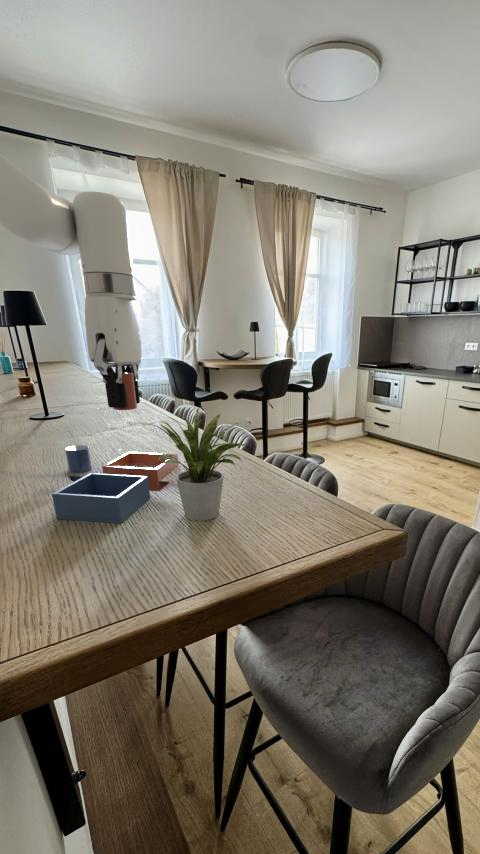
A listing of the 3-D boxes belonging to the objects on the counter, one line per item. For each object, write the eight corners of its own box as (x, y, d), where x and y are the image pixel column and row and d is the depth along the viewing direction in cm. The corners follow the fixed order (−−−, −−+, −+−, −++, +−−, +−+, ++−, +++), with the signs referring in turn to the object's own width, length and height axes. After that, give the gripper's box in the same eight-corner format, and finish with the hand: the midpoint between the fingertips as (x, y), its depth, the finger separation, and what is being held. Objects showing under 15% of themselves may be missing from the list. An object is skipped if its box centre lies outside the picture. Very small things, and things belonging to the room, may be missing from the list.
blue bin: (56, 518, 61) (51, 493, 60) (93, 495, 71) (90, 472, 69) (121, 523, 60) (118, 498, 59) (150, 498, 70) (148, 476, 68)
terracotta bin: (105, 487, 74) (101, 466, 73) (130, 470, 84) (128, 451, 82) (159, 490, 73) (157, 469, 72) (179, 473, 83) (177, 454, 81)
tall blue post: (65, 481, 77) (60, 450, 75) (78, 474, 81) (73, 444, 79) (85, 482, 77) (80, 451, 74) (97, 475, 80) (92, 445, 78)
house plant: (161, 546, 54) (149, 422, 48) (137, 509, 65) (125, 405, 59) (258, 524, 61) (257, 413, 55) (221, 494, 72) (217, 399, 66)
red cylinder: (108, 409, 71) (103, 373, 69) (120, 406, 74) (115, 371, 72) (130, 410, 70) (126, 374, 68) (140, 407, 74) (137, 372, 72)
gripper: (114, 294, 74) (126, 398, 80) (55, 282, 58) (77, 412, 65) (154, 294, 73) (163, 399, 80) (105, 282, 57) (122, 414, 64)
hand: (124, 404), depth 72 cm, fingers closed on red cylinder, 4 cm apart
